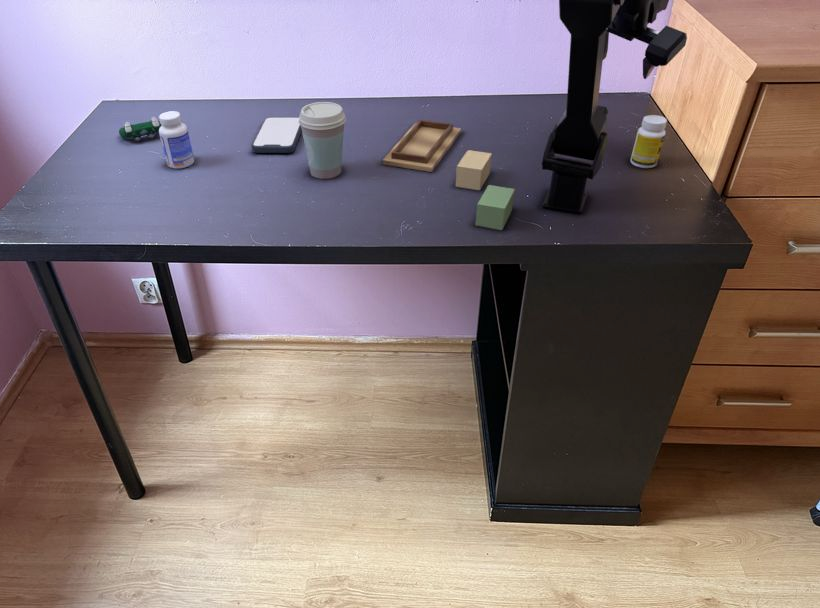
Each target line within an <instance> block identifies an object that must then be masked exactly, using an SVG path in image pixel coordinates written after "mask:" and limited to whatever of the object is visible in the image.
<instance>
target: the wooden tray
mask: <svg viewBox="0 0 820 608" xmlns="http://www.w3.org/2000/svg"><path fill="white" fill-rule="evenodd" d="M461 133H462V128H461V127H454V123H449V122H440V121H432V120H425V119H420V120H418V122H414V123H413V125H412V126H411V127H410V128H409V129H408V130H407V131H406V132H405V134H404V135H403V136H402V137H401V138H400V140H398V142H397V143H396V144H395V145H394V146H393V148H392V149H391V150H389V152H388V153H387V154H386V155H385V156H384V158H383V159H382V165H383V166H391V167H396V168H401V169H402V168H403V169H410V170H415V171H422V172H429V173H433V172H434V170H435V169H436V167H437V166H438V164H440V162H441V161H442V159H443V158H444V157H445V155H446V154H447V152H448V151H449V150H450V148H451V147H452V146H453V144H454V143H455V142H456V140H457V139H458V137H459V136H460V135H461Z"/></svg>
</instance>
